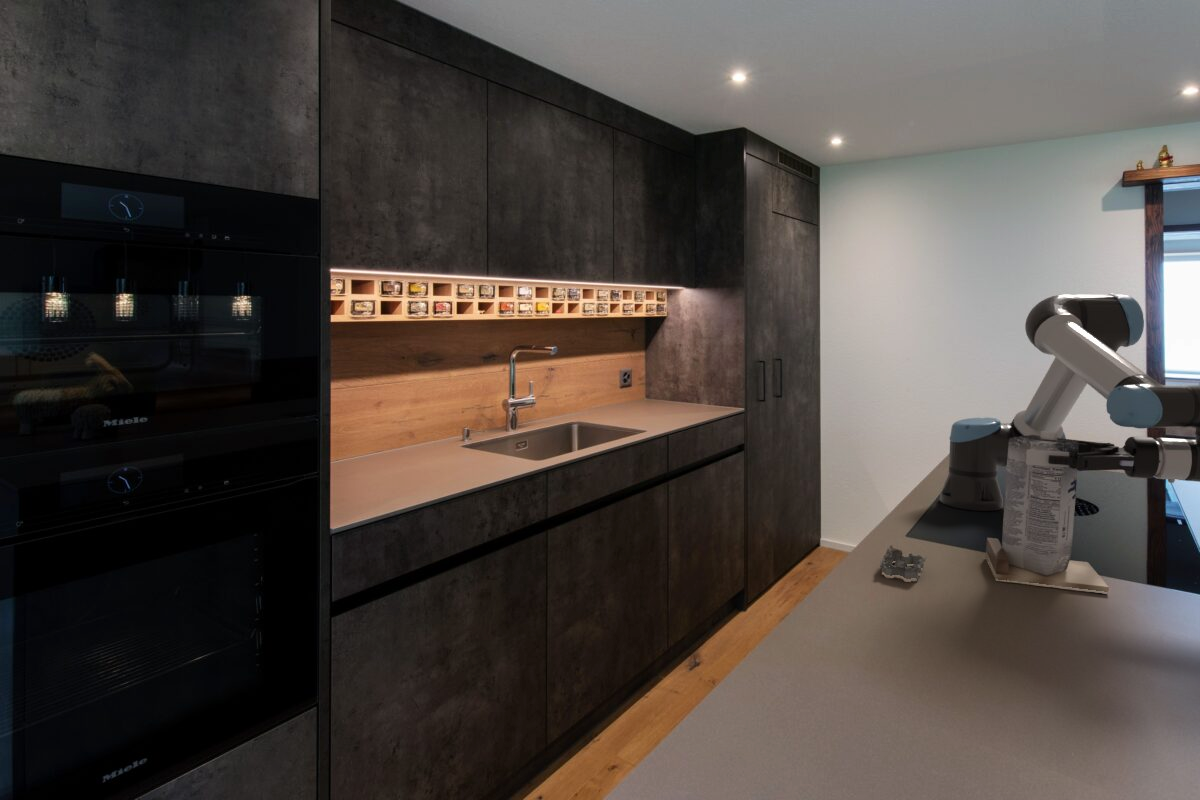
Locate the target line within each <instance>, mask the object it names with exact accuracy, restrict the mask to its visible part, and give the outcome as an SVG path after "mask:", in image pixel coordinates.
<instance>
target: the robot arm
mask: <svg viewBox="0 0 1200 800" xmlns="http://www.w3.org/2000/svg"><path fill="white" fill-rule="evenodd" d="M1024 326H1025V327H1024V329H1025V334H1026V336H1027V338H1028V341H1029V342H1030V343H1031V344H1032V345H1033V346H1034V347H1035V348H1036V349H1037V350H1039V351H1040V352H1041V353H1043V354H1046V355H1048V356H1049V355H1050V356H1051V355H1052V356H1054V357H1055V358H1054V359H1053V360H1052V363H1051V364H1050V366H1049V368H1048V370H1047V372H1046V373H1045V376H1044V377H1043V378H1042V380H1041V382H1040V384H1039V386H1038V388H1037V389H1036V391H1035V393H1034V395H1033V397H1032V398H1031V400H1030V402H1029V404H1028V406H1027V408H1026V409H1025V410H1021V411H1019V412H1017V413H1016V414H1015V416H1014V417H1013V419H1012V421H1011V422H1010V423H1001V420H1000V419H998V418H995V417H971V418H965V419H960V420H957V421H955V422H954V423H953V424H952V425H951V428H950V436H949V458H948V459H949V461H948V474H947V476H946V479H945V482H944V484H943V486H942V488H941V491H940V499H939V501H940V502H941V504H943V505H945V506H949V507H952V508H956V509H962V510H966V511H967V510H968V511H977V512H993V511H998V510H1002V509H1004V498H1003V497H1004V496H1003V494H1002V491H1001V488H1000V484H999V481H998V467H1000V468H1001V467H1004V468H1005V467H1006V468H1007V457H1008V445H1009V441H1008V440H1009V438H1014V437H1020V436H1028V435H1037V436H1041V431H1047V432H1056V433H1058V440H1073V441H1077V442H1079V448H1078V451H1076V450H1071V453H1070V456H1069V452H1061V451H1044V450H1027V456H1026V464H1027V465H1041V466H1056V467H1068V465H1069V467H1070V468H1073V469H1075V468H1076V470H1077V472H1078V471H1079V472H1083V471H1086V472H1087V471H1117V470H1118V471H1124V473H1125V474H1126V476H1127V477H1129V478H1139V479H1152V478H1155V479H1157V480H1158V479H1159V480H1167V482H1168V483H1171V484H1173V483H1175V481H1176V480H1177V481H1186V482H1200V382H1199V384H1191V385H1190V384H1189V385H1187V384H1185V385H1182V384H1181V385H1178V384H1177V385H1175V384H1173V385H1171V384H1170V385H1169V384H1168V385H1167V384H1161V383H1160V382H1158V381H1157V380H1155V378H1153V377H1151V376H1149V374H1147V373H1145V372H1144V371H1143V370H1141V369H1140V368H1138V367H1137V366H1135V365H1134V364H1133V363H1132V362H1130V361H1129V360H1127V359H1126V358H1124V357H1123V356H1122V355H1121V354H1119V353H1118V352H1117V351H1118V350H1119V348H1121V347H1124V348H1128V347H1131V346H1134V345H1136V343H1138V342H1139V341H1140V339H1141V338H1142V335H1143V333H1144V327H1145V319H1144V312H1143V310H1142V307H1141V305H1140V303H1139V302H1138V301H1137V300H1136V298H1134V297H1132V296H1130V295H1126V294H1117V293H1116V294H1115V293H1112V292H1111V293H1108V294H1058V295H1052V296H1050V297H1047V298H1044V299H1043V300H1041V301H1039V302H1038V303H1037V304H1035V306H1033V307H1032V308H1031V310H1030V311H1029V313H1028V315H1027V317H1026V319H1025V325H1024ZM1087 385H1089V387H1091V388H1092V389H1094V391H1096V392H1097V393H1098V394H1099V395H1101V396H1102V397H1103V398H1104V399H1105V400H1106V405H1105V406H1106V413H1107V414H1109V418H1110V420H1111V421H1112V423H1114V424H1115V425H1116V426H1120V427H1124V428H1135V429H1150V428H1151V429H1156V428H1157V429H1161V428H1163V429H1165V428H1167V429H1168V428H1174V429H1176V428H1180V429H1182V428H1183V429H1184V428H1188V429H1191V428H1194V429H1195V432H1194V433H1195V439H1185V438H1173V437H1171V438H1170V437H1156V439H1154V437H1150V436H1147V437H1145V436H1129V437H1128V438H1127V439H1126V440H1125V441H1124V445H1123V446H1122V447H1119V446H1116V445H1115V444H1114V443H1111V442H1096V441H1095V442H1094V441H1088V440H1087V441H1086V440H1078V439H1069V438H1068V439H1067V438H1066V434H1065V432H1064V428H1063V426H1062V425H1063V423H1064V422H1065V420H1066V418H1067V416H1068V415H1069V413H1070V412H1071V411H1072V409H1073V407H1074V405H1075V404H1076V402H1077V401H1078V399H1079V398H1080V396H1081V394H1082V392H1084V390H1085V387H1086V386H1087Z"/></svg>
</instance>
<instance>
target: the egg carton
mask: <svg viewBox="0 0 1200 800" xmlns="http://www.w3.org/2000/svg"><path fill="white" fill-rule="evenodd" d="M926 560H927V556H922V555H919V554H917V555H913V553H912V552H911V553H909V554H908V556H907V555H903V551H902V550H901V549H899V548H895V547H894V546H893V545H890V546H888V548H887V549H886V552H885V554H884V555H883V557H882V558H881V560H880V565H879V567H880V569H881V572H884V573H885V574H886V575H890V576H892V575H900V576H903V577H904V578H906V579H911V578H916V579H918V580H919V576H918V573H921V574H922V571H921V568H923V567H924V566H925V565H924V564H925V562H926ZM893 561H896V563H894V565H893V564H892V562H893ZM907 564H914V565H913V566H912V567H908V566H907ZM889 566H890V567H889ZM924 568H925V567H924Z"/></svg>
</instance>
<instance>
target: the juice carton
mask: <svg viewBox="0 0 1200 800" xmlns="http://www.w3.org/2000/svg"><path fill="white" fill-rule="evenodd" d="M1073 440H1074V439H1071V440H1058V433H1056V432H1047V431H1041V436H1037V435H1028V436H1020V437H1014V438H1009V440H1008V441H1009V445H1008V457H1007V467H1006V473H1005V474H1006V475H1005V476H1006V477H1005V487H1004V488H1005V489H1004V501H1003V521H1002V536H1001V537H1002V539H1001V546H1002V548H1003V550H1004V552H1005V554H1006V555H1007V557H1008V559H1009V565H1012V566H1015V567H1019V568H1022V569H1025V570H1028V571H1031V572H1034V573H1037V574H1041V575H1044V576H1048V575H1051V574H1054V573H1058V572H1061V571H1065V570H1066V569H1067V567H1068V564H1069V560H1071V555H1072V547H1073V536H1074V520H1075V519H1074V518H1075V511H1076V510H1075V509H1076V508H1075V506H1076V498H1077V497H1076V494H1077V484H1078V483H1077V481H1078V470H1076V468H1075V469H1073V468H1070V467H1069V465H1068V467H1056V466H1041V465H1027V464H1026V456H1027V450H1044V451H1061V452H1069V456H1070V453H1071V450H1076V451H1078V448H1079V442H1077V441H1073Z"/></svg>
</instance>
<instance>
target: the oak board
mask: <svg viewBox="0 0 1200 800" xmlns="http://www.w3.org/2000/svg"><path fill="white" fill-rule="evenodd" d="M986 558H987V560H988V562H989V565H990V567H991V569H992V572H993V574H994V576H995V579H998V580H1006V581H1007V580H1009V581H1018V582H1029V583H1039V584H1046V585H1055V586H1062V587H1072V588H1079V589H1088V590H1096V591H1104V592H1108V593H1109V586H1108V585H1107V583H1106V582H1105V581H1104V580H1103V578H1102V577H1101V576H1100V575H1099V574H1098V573H1097V571H1096V570H1095V569H1094V568H1093V567H1092V566H1091V564H1090V563H1089V562H1088V561H1082V560H1081V561H1080V560H1079V561H1078V560H1071V559H1070V560H1069V564H1068V567H1067V569H1066V570H1065V571H1061V572H1058V573H1054V574H1051V575H1048V576H1044V575H1041V574H1037V573H1034V572H1031V571H1028V570H1025V569H1022V568H1019V567H1015V566H1012V565H1009V567H1008V575H1001V574H996V573H995V570H994V568H993V566H992V564H991V561H990V559H989V557H988V555H987V552H986V551H985V559H986ZM987 560H986V561H987ZM989 565H988V566H989ZM990 567H989V568H990ZM992 572H991V573H992ZM993 574H992V575H993ZM995 579H994V580H995Z"/></svg>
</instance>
